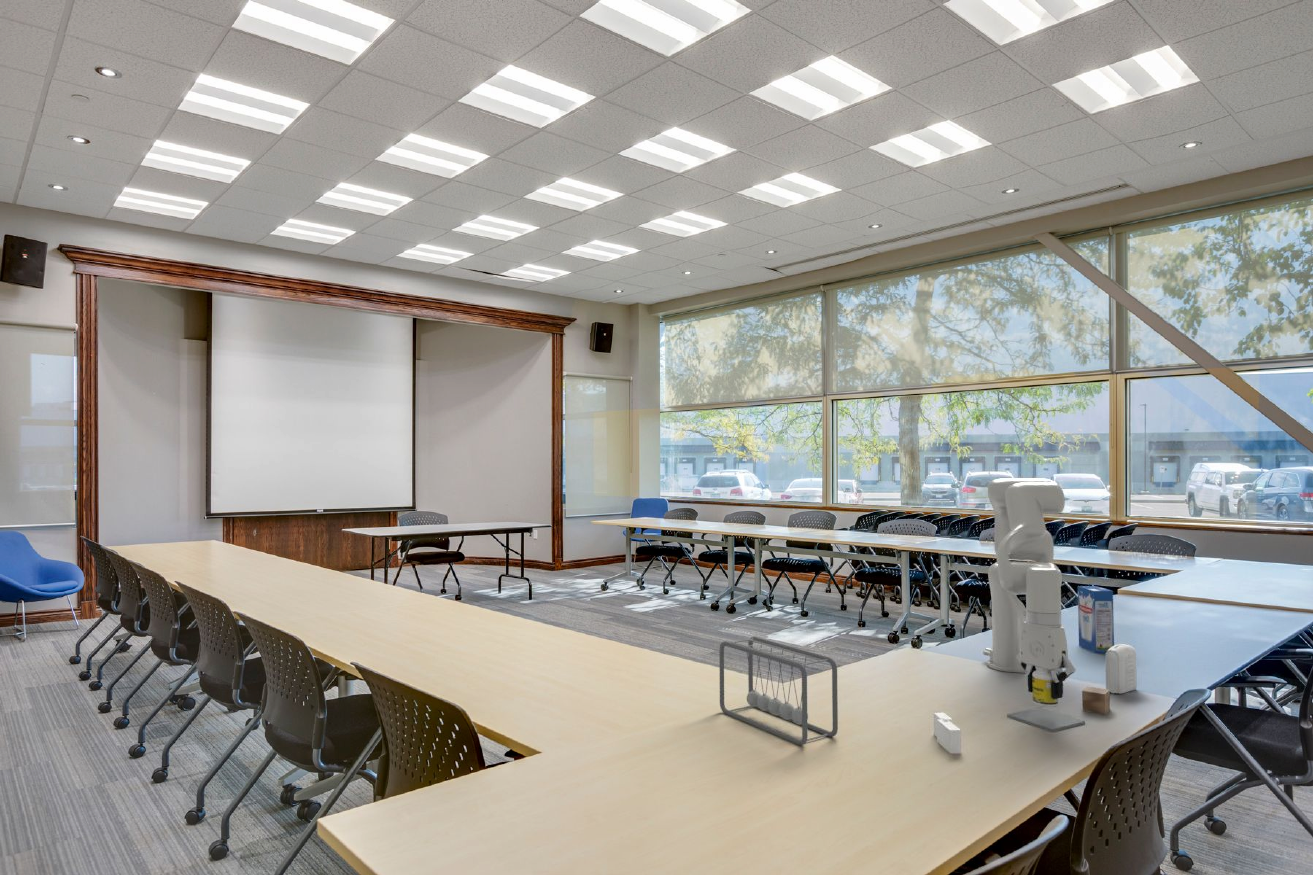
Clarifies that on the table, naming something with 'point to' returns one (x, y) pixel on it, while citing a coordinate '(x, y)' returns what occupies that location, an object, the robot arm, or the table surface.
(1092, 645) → the milk carton
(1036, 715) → the slate coaster
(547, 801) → the table surface
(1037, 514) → the robot arm
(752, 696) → the newton's cradle
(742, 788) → the table surface
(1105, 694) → the walnut block
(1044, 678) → the supplement bottle
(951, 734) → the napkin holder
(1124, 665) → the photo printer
